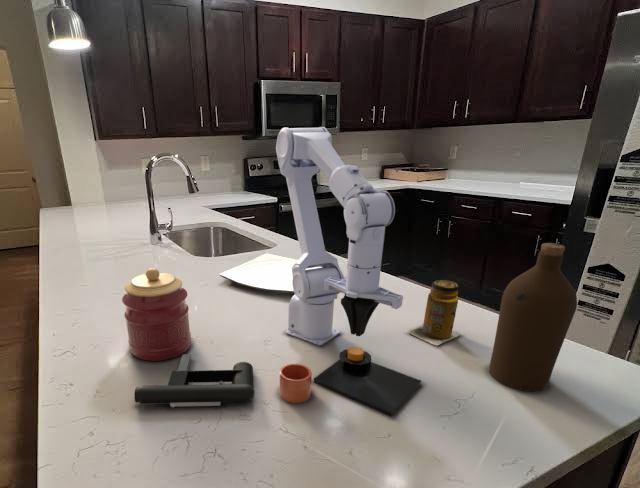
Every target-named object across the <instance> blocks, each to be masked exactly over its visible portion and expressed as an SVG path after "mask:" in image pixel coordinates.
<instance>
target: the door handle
mask: <svg viewBox="0 0 640 488" xmlns="http://www.w3.org/2000/svg"><path fill="white" fill-rule="evenodd" d="M191 365H192V354H190V353H189V354H181V358H180V360H179V364H178V367H177V370H172V371H171V374H170V377H169V379H168V383H167V385H166V384H165V385H164V384H163V385H142V386H136V387H135V388H134V395H133V396H134V402H135V403H139V404H143V405H153V404H154V405H157V404H158V405H159V404H169V406H170V407H171V408H175V407H216V406H217V407H218V406H219V407H220V406H221V403H237V404H238V403H248V402H250V401H252V400H253V398H254V397H255V389H254V366H253V365H252V364H251V363H249V362H247V361H239V362H236V363H235V364H234V365H233V368H232V369H215V370H214V369H213V370H212V369H211V370H210V369H209V370H207V369H206V370H205V369H204V370H190V368H191ZM195 383H196V384H195ZM199 383H202V384H199ZM203 383H204V384H203ZM205 383H218V384H205Z"/></svg>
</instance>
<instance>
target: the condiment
mask: <svg viewBox="0 0 640 488" xmlns="http://www.w3.org/2000/svg"><path fill="white" fill-rule="evenodd" d="M459 289H460V288H459V284H458V283H456V282H455V281H451V280H446V279H438V280H434V281H433V282H432V283H431V288H430V292H429V293H428V294H427V299H426V305H425V306H426V307H425V312H424V318H423V324H422V326H420V327H417V328H416V329H413V330H409V331H408V332H407V333H408V334H410V335H412V336H414V337H416V338H418V339H420V340H422V341H423V342H427V343H429V344H431V345H434V346H436V347H437V346H440V345H441V344H444V343H446V342H448V341H451V340H453V339H456V338H458V337H459V336H460V334H459V333H456V332H454V331H453V329H454V324H455V318H456V312H457V309H458V303H459V296H458V295H459Z"/></svg>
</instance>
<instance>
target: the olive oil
mask: <svg viewBox="0 0 640 488" xmlns="http://www.w3.org/2000/svg"><path fill="white" fill-rule="evenodd" d="M565 249H566V246H565V245H563V244H559V243H556V242H555V243H553V242H544V243H542V244H541V246H540V251H538V254H537V257H536V258H537V259H536V263H535V265H534V266H533V267H531V268H530V269H528V270H526V271H525V272H523V273H520V274H519V275H518V276H516V277H515V278H513V279H512V280H511V281H510V282H509V283H508V284H507V286H506V287H505V289H504V291H503V292H502V297H501V302H500V309H499V313H498V320H497V326H496V330H495V337H494V341H493V347H492V352H491V357H490V362H489V365H488V367H489V368H488V372H489V375H490V376H491V377H492V378H493V379H494V380H495V381H496V382H498V383H500V384H502V385H503V386H505V387H509V388H511V389H515V390H518V391H524V392H538V391H542V390H545V389H546V388H547V387H548V385H549V382H550V379H551V377H552V374H553V372H554V369H555V365H556V362H557V360H558V357H559V355H560V352H561V349H562V347H563V344H564V341H565V339H566V336H567V334H568V331H569V328H570V326H571V323H572V322H573V318H574V316H575V314H576V311H577V307H578V297H577V292H576V290H575V289H574V286H573V285H572V284H571V283H570V281H569V280H568V279H567V277H566V276H565V274H564V273H563V272H562V270H561V266H562V263H563V260H564V257H565V256H564V252H565Z"/></svg>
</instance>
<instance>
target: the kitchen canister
mask: <svg viewBox="0 0 640 488" xmlns="http://www.w3.org/2000/svg"><path fill="white" fill-rule="evenodd" d="M182 286H183V281H182V280H181V279H180V278H179V277H176V276H174V275H173V274H171V273H167V272H160V271H159V270H158V269H157V268H156V267H149V268H148V269H147V270H146V272H145V273H144V274H140V275H138V276H135V277H134V278H132V279H131V281H129V282H127V284H126V285H125V287H124V290H125V292H126V293H125V294H123V296H122V297H121V301H122V304H123V305H124V306H125V311H124V318H125V322H126V329H127V335H128V336H127V337H128V339H127V342H128V347H129V349H130V352H131V354H132V355H133V356H134V357H136V358H137V359H140V360H144V361H149V362H150V361H151V362H153V361H155V362H157V361H159V362H160V361H167V360H170V359H173V358H177V357H178V356H182V355H183V354H184V353H185V352H187V350H189V348H190V346H191V341H192V333H191V330H190V318H189V305H188V304H187V302H186V300H187V298H188V291H187V290H186V288H184V287H182Z"/></svg>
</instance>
